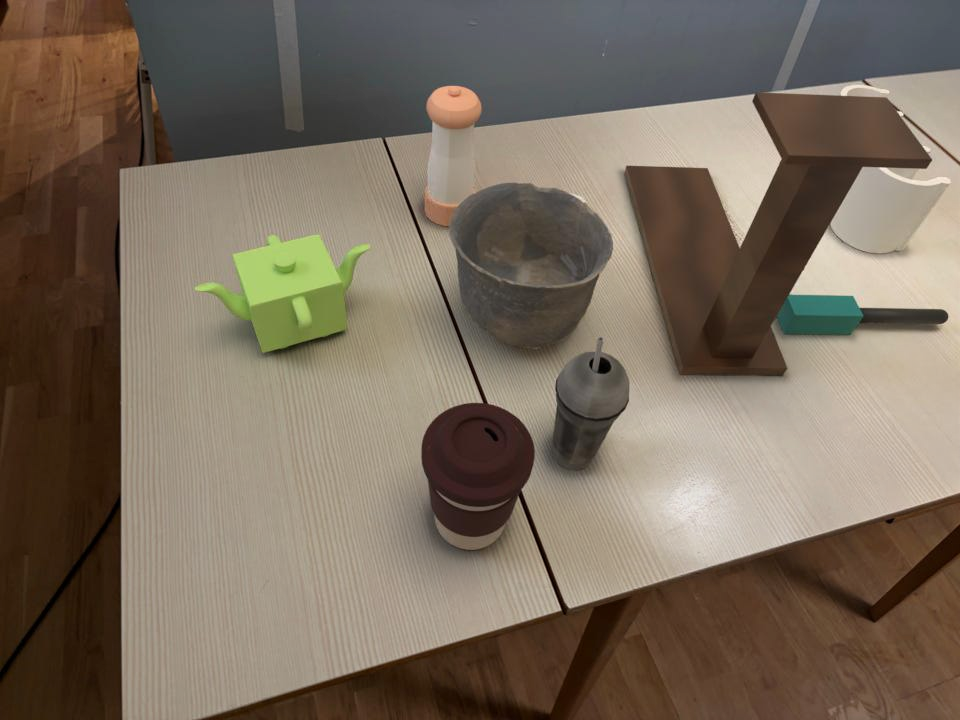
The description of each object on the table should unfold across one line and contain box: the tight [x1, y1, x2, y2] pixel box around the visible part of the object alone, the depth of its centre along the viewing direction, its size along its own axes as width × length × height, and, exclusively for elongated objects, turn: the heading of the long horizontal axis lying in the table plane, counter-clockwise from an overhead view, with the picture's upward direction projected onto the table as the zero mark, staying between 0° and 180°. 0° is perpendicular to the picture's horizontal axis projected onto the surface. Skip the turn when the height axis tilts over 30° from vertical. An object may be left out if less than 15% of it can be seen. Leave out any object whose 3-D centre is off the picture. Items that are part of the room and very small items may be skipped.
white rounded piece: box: [829, 84, 952, 254], centre depth 106 cm, size 25×10×12 cm, turn 179°
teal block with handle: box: [776, 294, 949, 336], centre depth 92 cm, size 22×4×4 cm, turn 92°
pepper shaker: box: [424, 85, 483, 227], centre depth 95 cm, size 7×7×19 cm
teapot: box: [194, 233, 372, 354], centre depth 83 cm, size 15×13×11 cm
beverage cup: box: [551, 336, 630, 471], centre depth 70 cm, size 7×7×20 cm
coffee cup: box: [420, 402, 536, 551], centre depth 66 cm, size 10×10×15 cm
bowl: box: [448, 182, 614, 349], centre depth 84 cm, size 18×18×15 cm
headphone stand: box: [623, 91, 933, 377], centre depth 86 cm, size 13×41×32 cm, turn 2°
